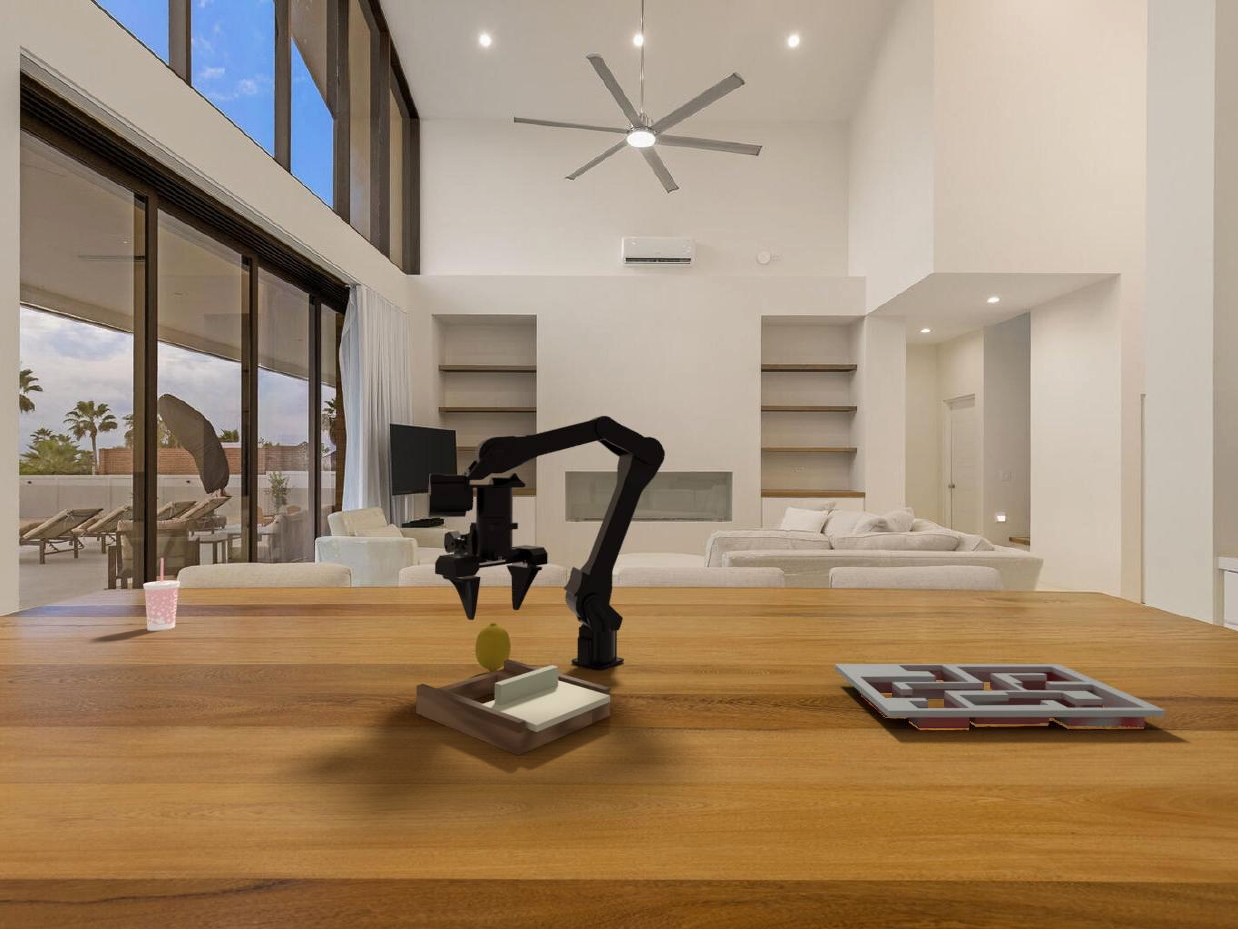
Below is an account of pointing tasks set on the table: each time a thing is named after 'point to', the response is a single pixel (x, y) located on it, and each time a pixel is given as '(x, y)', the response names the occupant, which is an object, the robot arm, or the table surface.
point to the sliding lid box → (495, 726)
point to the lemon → (492, 647)
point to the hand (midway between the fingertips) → (494, 614)
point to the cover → (543, 698)
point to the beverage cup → (161, 603)
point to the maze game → (995, 695)
